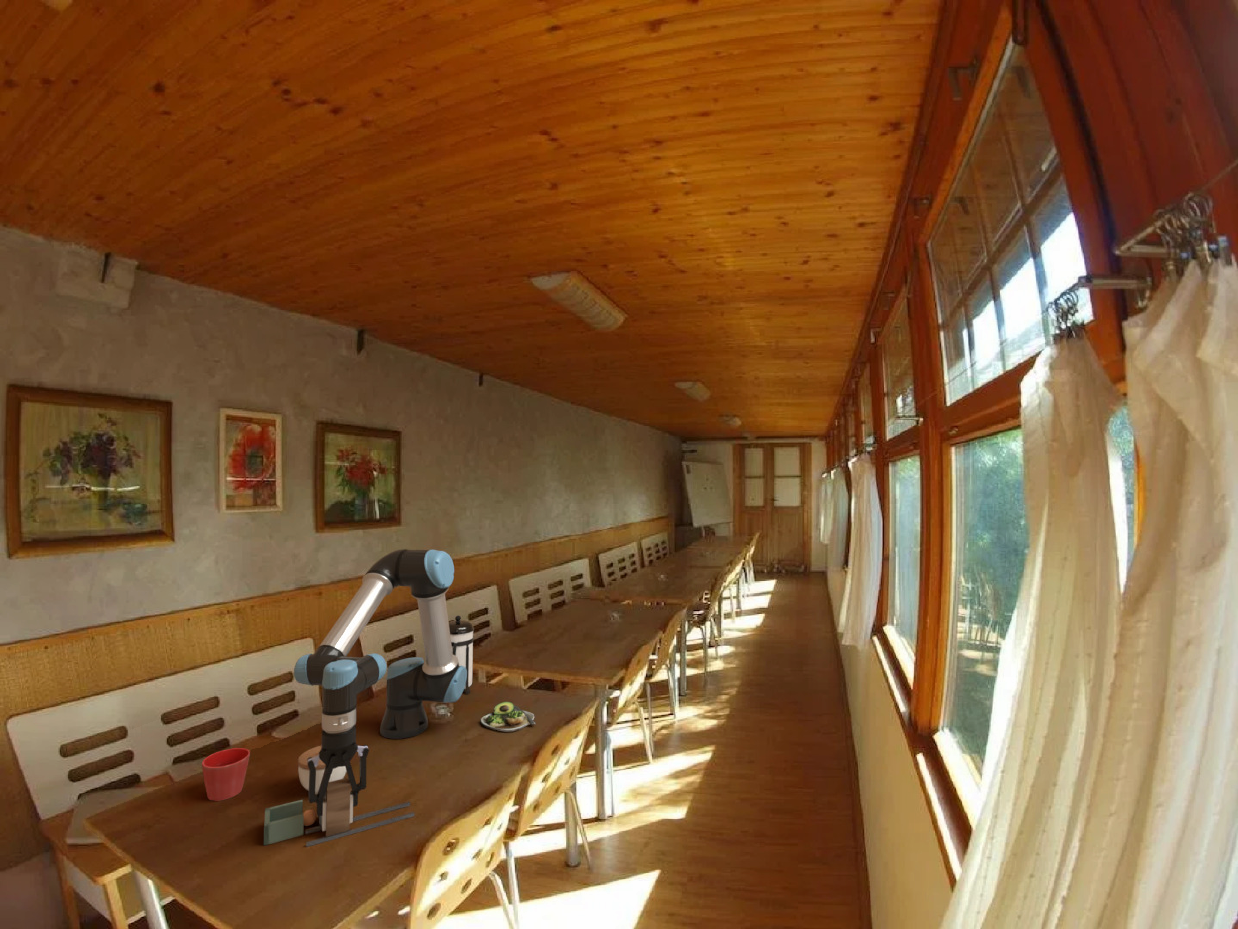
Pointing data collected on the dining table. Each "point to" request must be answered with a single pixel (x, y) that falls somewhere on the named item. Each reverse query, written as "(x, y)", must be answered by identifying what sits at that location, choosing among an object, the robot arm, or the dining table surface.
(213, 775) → the flower pot
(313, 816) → the brown egg
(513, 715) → the avocado toast plate
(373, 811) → the guide rails
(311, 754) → the lidded bowl
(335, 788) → the brown boxy piece
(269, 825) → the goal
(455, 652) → the coffee press
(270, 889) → the dining table surface
